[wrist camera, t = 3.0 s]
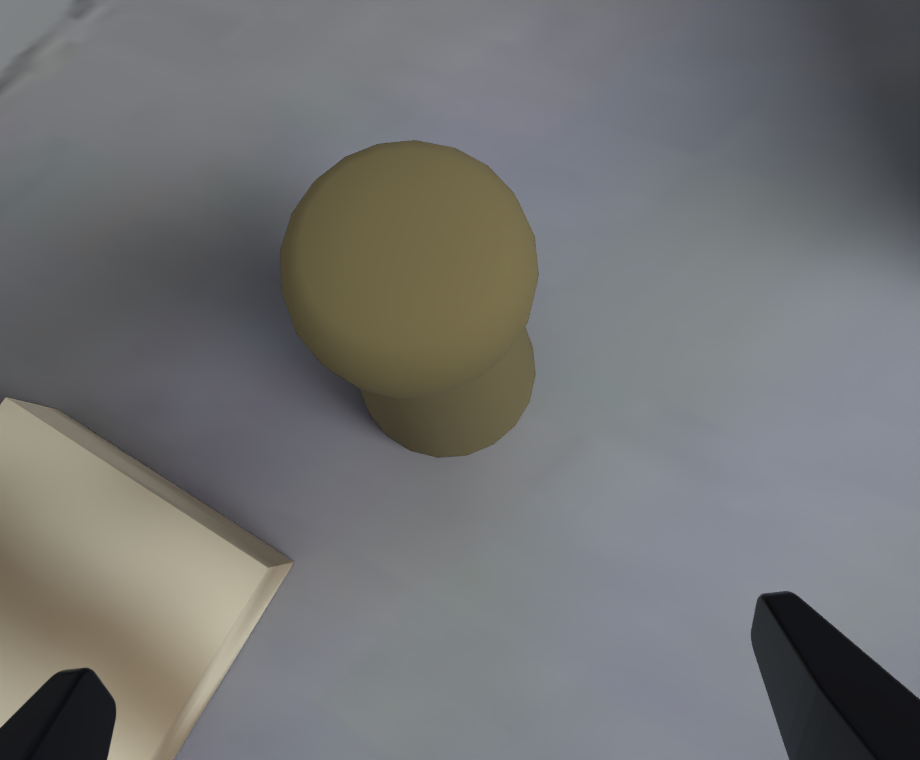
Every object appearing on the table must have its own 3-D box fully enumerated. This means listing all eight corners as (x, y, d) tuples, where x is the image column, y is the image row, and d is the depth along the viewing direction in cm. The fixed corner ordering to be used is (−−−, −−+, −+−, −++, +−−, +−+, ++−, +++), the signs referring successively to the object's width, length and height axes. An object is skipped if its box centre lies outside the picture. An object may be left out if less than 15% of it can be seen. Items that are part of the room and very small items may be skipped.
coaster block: (115, 853, 20) (63, 899, 18) (-124, 671, 22) (-203, 691, 19) (294, 561, 22) (268, 568, 19) (58, 409, 23) (5, 397, 21)
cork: (327, 341, 23) (177, 190, 12) (475, 253, 24) (455, 31, 13) (414, 492, 22) (332, 469, 11) (570, 397, 22) (635, 286, 12)
